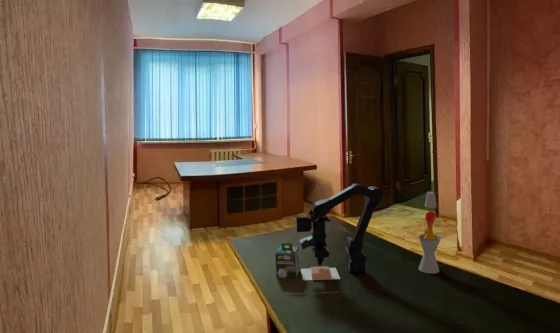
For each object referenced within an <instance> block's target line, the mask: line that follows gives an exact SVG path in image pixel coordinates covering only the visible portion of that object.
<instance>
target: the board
mask: <svg viewBox="0 0 560 333" xmlns="http://www.w3.org/2000/svg"><path fill="white" fill-rule="evenodd" d="M329 270H330V272H331V278H320V279H312V277H311V273H310V268H300V273H301V277H302V281H311V280H312V281H315V280H316V281H317V280H318V281H319V280H321V281H322V280H340V279H341V277H340V275H339V272H338V270H337V268H336V267H329Z"/></svg>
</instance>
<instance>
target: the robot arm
mask: <svg viewBox="0 0 560 333" xmlns="http://www.w3.org/2000/svg"><path fill="white" fill-rule="evenodd" d="M357 195H360V196H363V197H364V204H363V208H362V210H361V214H360V215H359V218H358V221H357V223H356V226H355V229H354V232H353V234H352V235H351V236H349V235H347V236H346V241H345V242H344V249H345V251H346V253H347V254H348V255H349V256H350V257H349V260H348V270H349V272H350V273H351V275H367V272H366V260H367V258H368V257H367V256H366V254H364V252H363V246H364V237H365V235H366V232H367V229H368V227H369V225H370V221H371V219H372V217H373V214H374V211H375V209H376V208H377V207H378V206H379V205H380V204H381V201H382V200H383V198H384V191H383V190H382V189H380V188H378V187H377V186H374V185H371V186H366V185H362V184H359V183H357V182H356V183H352V184H351V185H350V186H348V187H346V188H345V189H342V190H341V191H339V192H337V193H336V194H334V195H331V196H330V197H327V198H324V199H320V200H317V201H314V202H313V203H312V205H311V209H310V210H309V212H308V213H307V214H306V216H300V215H299V216H297V215H296V216H295V223H294V228H295V233H309V232H310V231H312V232H311V235H308V236H306V237H303V238H300V240H299V244H300V246H301V249H302V250H306V249H308V248H310V247H311V250H312V253H313V256H314V258H316V260H317V267H322V264H323V262H324V260H325V258H330V251H329V249H328V248H327V225H326V224H327V222H331V219H330V218H329V217H328V214H330V212H331V211H332V210H333V209H334V208H335V207H337V206H339V205H341V204H342V203H344V202H345V201H347V200H349V199H351V198H352V197H355V196H357Z"/></svg>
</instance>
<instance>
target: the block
mask: <svg viewBox="0 0 560 333" xmlns="http://www.w3.org/2000/svg"><path fill="white" fill-rule="evenodd" d="M329 268H330V267H329V265H327V266H324V265H322V266H310V267H309V269H310V273H311V277H312V279H320V278H331V272H330V270H329Z"/></svg>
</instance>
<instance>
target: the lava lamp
mask: <svg viewBox="0 0 560 333" xmlns="http://www.w3.org/2000/svg"><path fill="white" fill-rule="evenodd" d="M425 197H426V198H425V203H424V207H425V208H428V209H435V208H438V207H437V200H436V194H435V192H430V191H429V192H428V191H427V193H426V196H425ZM425 219H426V224H427V227H425V228H424V230H423V232H424V234H423V233H422V234H420V235H419V236H418V239H419V242H420V245H421V247H422V252H423V255H422V257H421V261H420V263H419V266H418V270H419V272H422V273H425V274H433V275H434V274H437V273H440V269H439V268H440V267H439V264H438V261H437V258H436V256H435V254H436V251H437V248H438V246H439V244H440V242H441V237H440V236H439V235H437V234H436V235H435V234H434V233H433V232H434V231H433V226H434V223H435V221H436V219H437V215H436V213H435V212H434V211H431V210H430V211H427V212H426V213H425Z"/></svg>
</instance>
